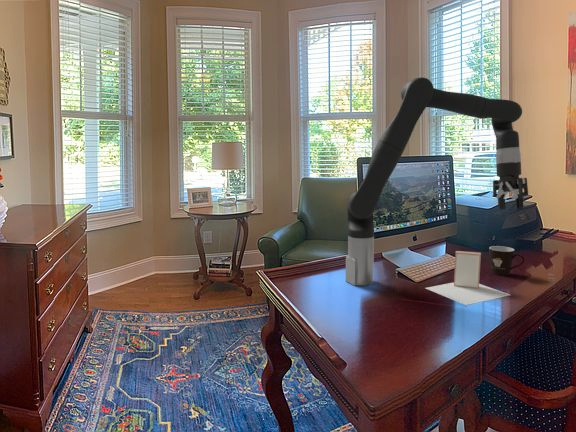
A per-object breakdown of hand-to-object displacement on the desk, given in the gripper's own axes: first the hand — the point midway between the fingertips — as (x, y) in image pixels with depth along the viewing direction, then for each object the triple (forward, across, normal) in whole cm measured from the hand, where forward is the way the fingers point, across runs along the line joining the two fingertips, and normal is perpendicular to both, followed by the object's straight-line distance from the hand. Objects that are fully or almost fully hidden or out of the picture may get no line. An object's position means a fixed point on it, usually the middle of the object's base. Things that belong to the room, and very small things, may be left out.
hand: (510, 209), depth 148 cm
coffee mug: (+26, -14, +6) cm, 30 cm away
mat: (+27, 0, -18) cm, 33 cm away
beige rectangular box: (+26, -5, -15) cm, 30 cm away
